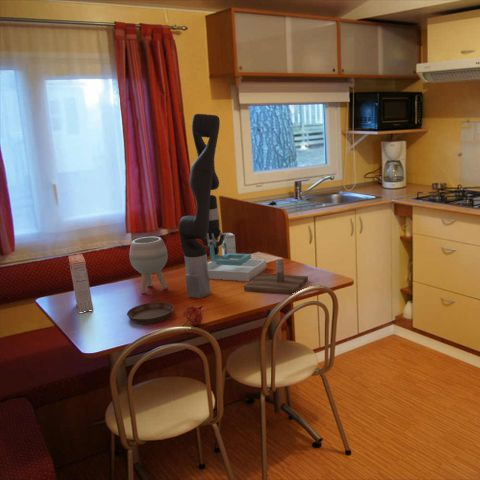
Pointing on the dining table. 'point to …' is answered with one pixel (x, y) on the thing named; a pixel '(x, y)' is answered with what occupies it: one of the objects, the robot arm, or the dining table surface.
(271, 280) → the stake board
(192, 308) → the pomegranate
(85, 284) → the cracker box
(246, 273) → the tray
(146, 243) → the planter
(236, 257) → the teal frame with handle
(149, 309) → the plant saucer
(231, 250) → the syrup box
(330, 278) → the dining table surface
